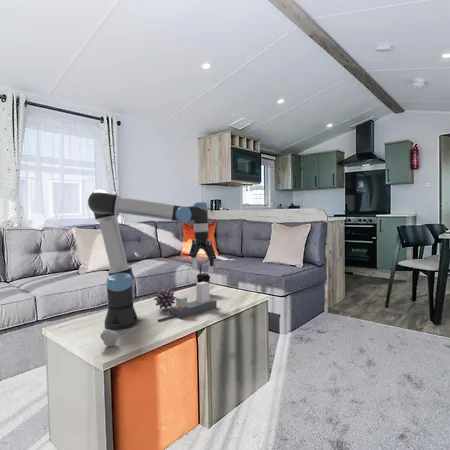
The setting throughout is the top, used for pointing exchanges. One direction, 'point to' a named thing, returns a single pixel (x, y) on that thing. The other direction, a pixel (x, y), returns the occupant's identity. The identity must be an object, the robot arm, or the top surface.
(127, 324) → the robot arm
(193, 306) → the power strip
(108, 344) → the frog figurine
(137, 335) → the top surface
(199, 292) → the white rectangular block
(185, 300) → the block
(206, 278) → the coffee cup
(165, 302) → the flower
